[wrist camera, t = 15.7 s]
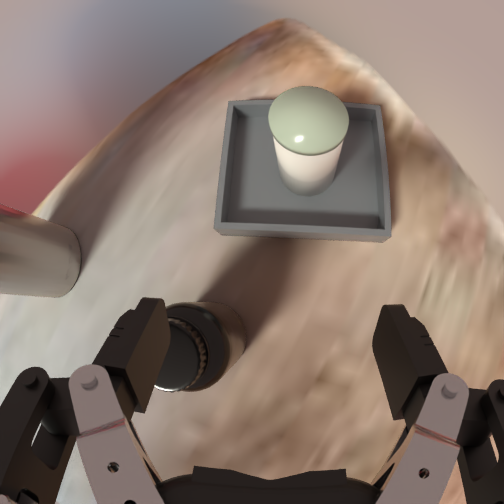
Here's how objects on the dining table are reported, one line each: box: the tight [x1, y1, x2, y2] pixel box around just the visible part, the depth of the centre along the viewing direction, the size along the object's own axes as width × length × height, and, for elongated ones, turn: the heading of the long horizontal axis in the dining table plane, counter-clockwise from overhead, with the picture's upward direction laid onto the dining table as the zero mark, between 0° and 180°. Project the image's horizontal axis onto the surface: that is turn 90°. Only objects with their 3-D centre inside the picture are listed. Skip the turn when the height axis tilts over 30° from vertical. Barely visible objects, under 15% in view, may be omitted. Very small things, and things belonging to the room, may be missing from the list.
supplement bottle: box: [154, 302, 246, 392], centre depth 24 cm, size 7×7×12 cm
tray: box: [214, 100, 391, 243], centre depth 29 cm, size 16×14×3 cm
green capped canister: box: [268, 86, 349, 196], centre depth 25 cm, size 6×6×10 cm
